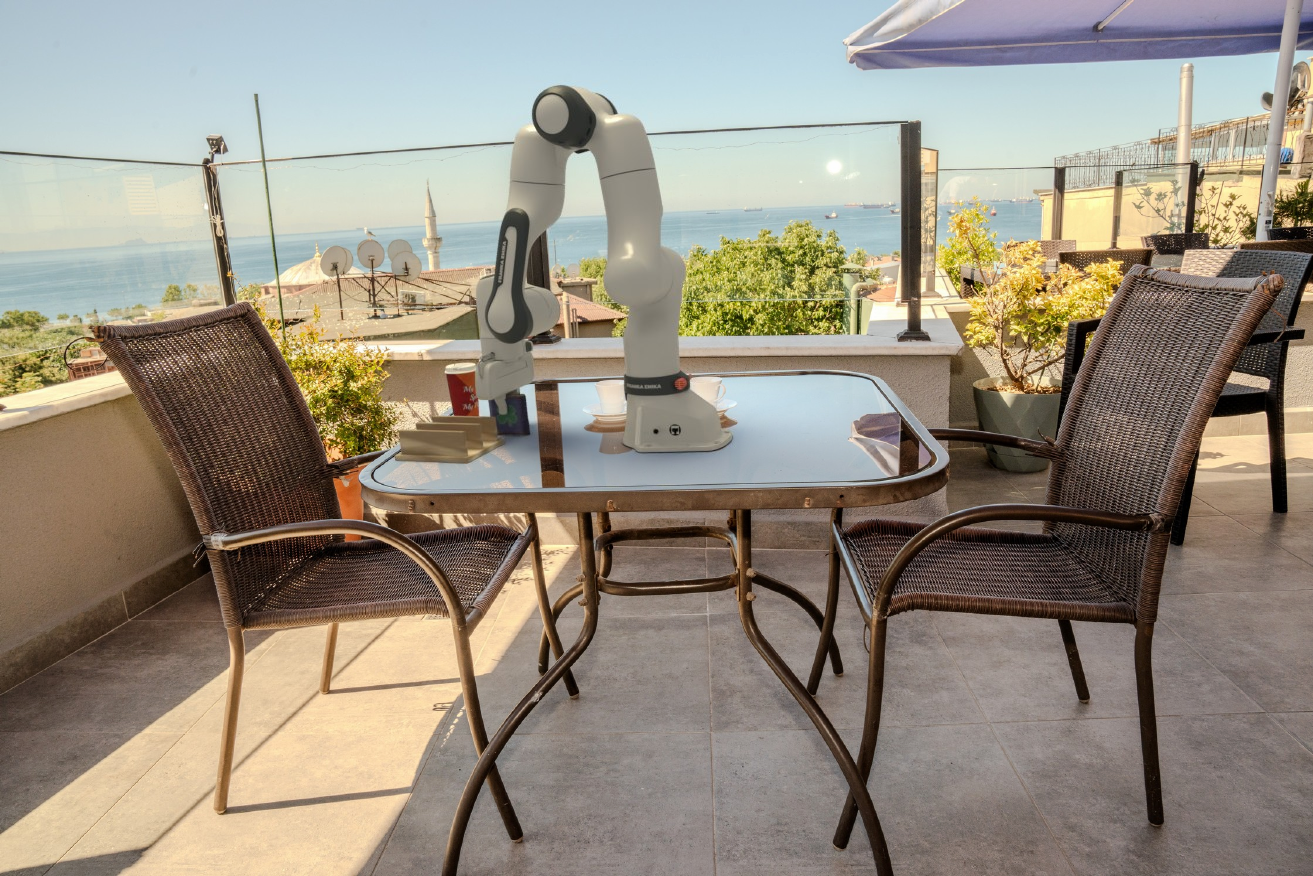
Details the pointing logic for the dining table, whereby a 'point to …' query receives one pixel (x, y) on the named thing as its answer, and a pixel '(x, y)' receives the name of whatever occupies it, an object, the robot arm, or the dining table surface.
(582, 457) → the dining table surface
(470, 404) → the paper cup
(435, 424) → the rack
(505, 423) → the flask
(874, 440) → the dining table surface
